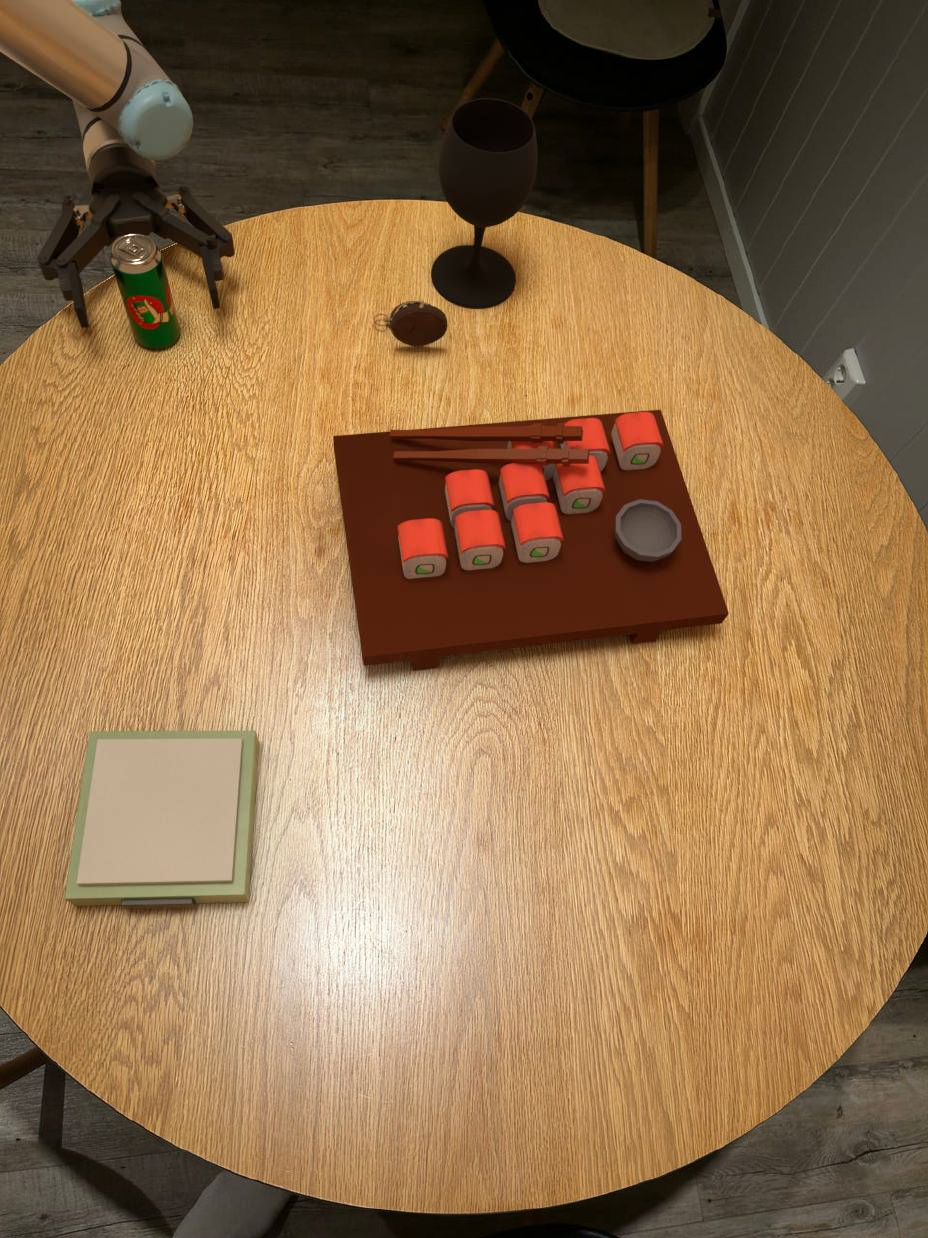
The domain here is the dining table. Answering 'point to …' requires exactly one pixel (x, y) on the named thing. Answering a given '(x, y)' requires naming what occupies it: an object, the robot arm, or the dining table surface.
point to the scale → (164, 819)
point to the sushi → (520, 536)
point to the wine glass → (483, 195)
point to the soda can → (145, 290)
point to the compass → (416, 322)
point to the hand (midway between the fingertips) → (149, 308)
